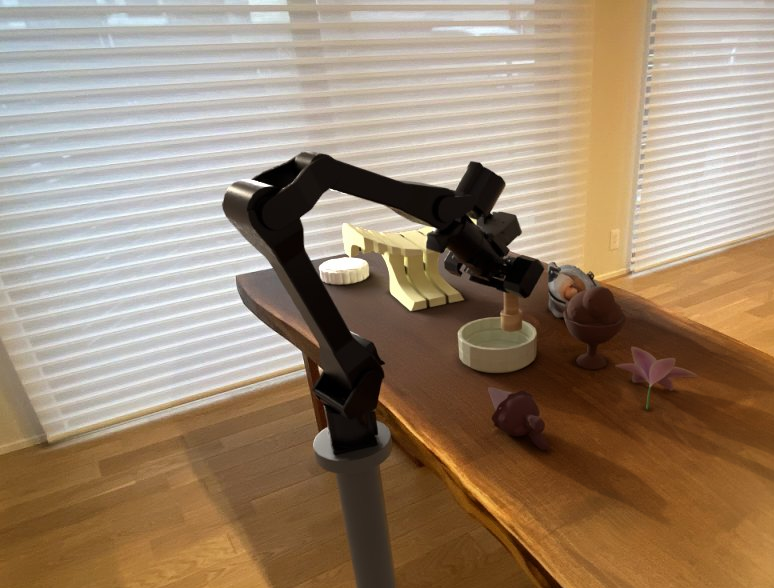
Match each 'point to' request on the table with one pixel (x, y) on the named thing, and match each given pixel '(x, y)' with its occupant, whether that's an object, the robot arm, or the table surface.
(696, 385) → the table surface
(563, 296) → the grey pot with food
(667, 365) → the lily
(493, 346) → the bowl
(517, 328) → the cylinder
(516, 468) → the table surface
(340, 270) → the mooncake
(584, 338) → the ice cream bowl
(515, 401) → the icecream
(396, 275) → the slatted curved stool
